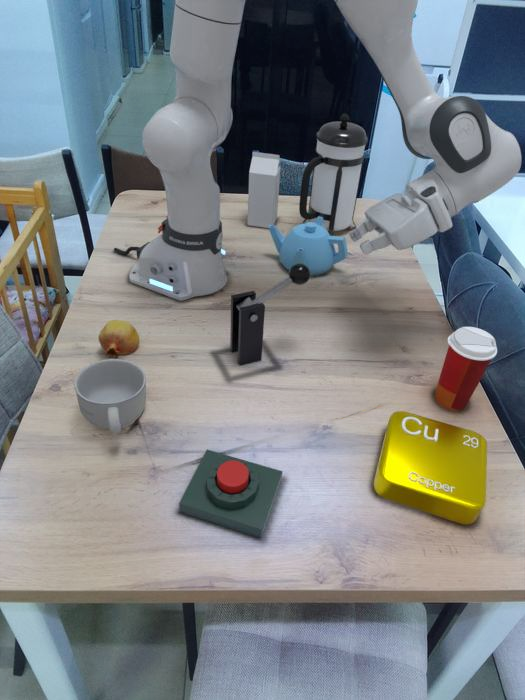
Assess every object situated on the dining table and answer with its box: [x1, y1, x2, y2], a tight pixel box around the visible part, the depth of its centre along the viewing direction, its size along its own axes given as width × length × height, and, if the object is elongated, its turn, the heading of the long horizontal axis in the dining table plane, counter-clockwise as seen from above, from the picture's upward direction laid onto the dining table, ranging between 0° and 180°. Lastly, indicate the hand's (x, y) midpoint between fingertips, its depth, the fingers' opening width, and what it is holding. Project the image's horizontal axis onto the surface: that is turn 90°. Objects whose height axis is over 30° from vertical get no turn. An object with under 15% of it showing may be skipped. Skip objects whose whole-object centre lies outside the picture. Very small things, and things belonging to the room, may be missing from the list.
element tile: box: [373, 410, 488, 525], centre depth 77 cm, size 15×15×5 cm
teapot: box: [268, 216, 349, 277], centre depth 122 cm, size 15×15×11 cm
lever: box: [236, 263, 311, 310], centre depth 89 cm, size 14×4×4 cm, turn 114°
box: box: [178, 449, 283, 539], centre depth 72 cm, size 12×10×4 cm
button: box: [217, 461, 249, 494], centre depth 70 cm, size 4×4×2 cm
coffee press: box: [298, 113, 369, 236], centre depth 131 cm, size 17×16×30 cm
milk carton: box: [247, 151, 282, 229], centre depth 136 cm, size 7×7×19 cm
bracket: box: [229, 290, 266, 366], centre depth 92 cm, size 10×8×14 cm
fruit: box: [98, 319, 140, 359], centre depth 94 cm, size 7×7×10 cm
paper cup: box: [434, 326, 498, 412], centre depth 86 cm, size 8×8×14 cm
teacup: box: [73, 358, 147, 435], centre depth 80 cm, size 14×11×8 cm
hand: (356, 243), depth 90 cm, fingers open, 8 cm apart
